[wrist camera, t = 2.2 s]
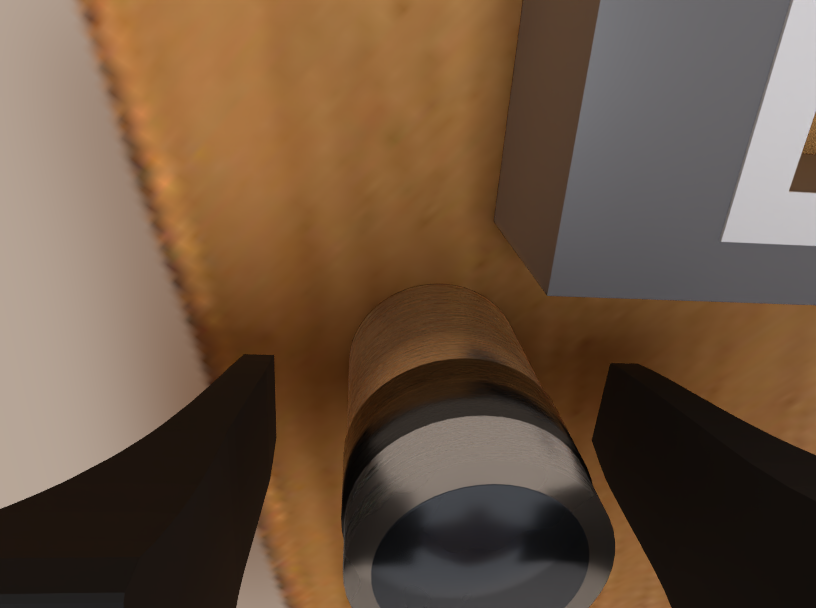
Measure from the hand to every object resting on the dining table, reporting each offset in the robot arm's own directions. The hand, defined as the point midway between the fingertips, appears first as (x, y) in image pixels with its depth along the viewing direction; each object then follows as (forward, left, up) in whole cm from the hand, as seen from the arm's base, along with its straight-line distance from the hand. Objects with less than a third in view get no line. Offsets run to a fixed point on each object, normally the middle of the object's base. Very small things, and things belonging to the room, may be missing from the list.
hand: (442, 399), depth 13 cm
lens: (0, 0, -2) cm, 2 cm away
